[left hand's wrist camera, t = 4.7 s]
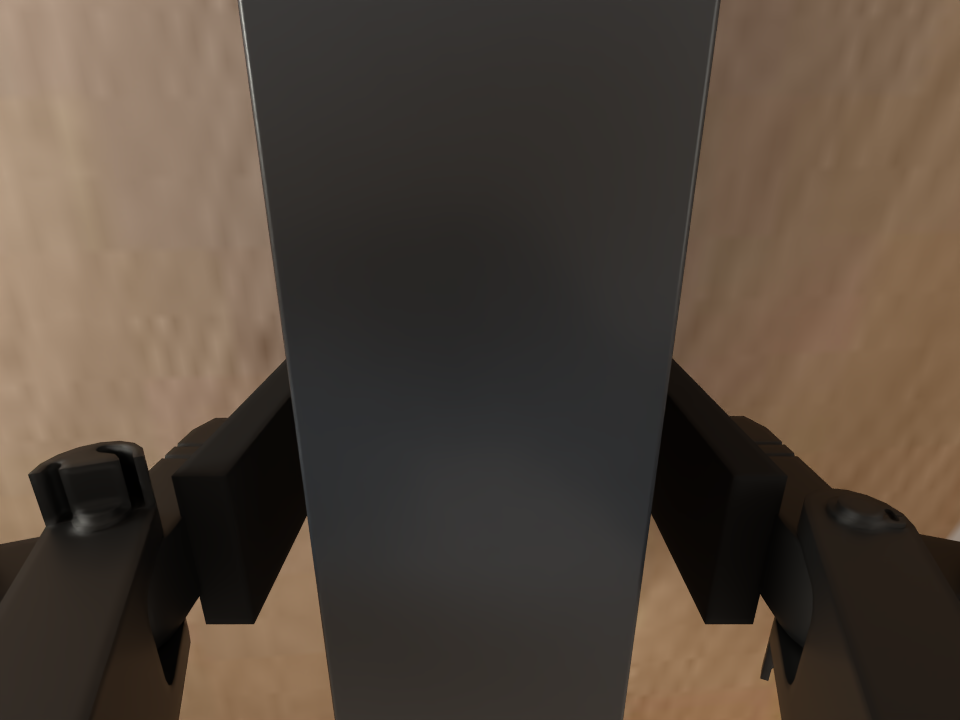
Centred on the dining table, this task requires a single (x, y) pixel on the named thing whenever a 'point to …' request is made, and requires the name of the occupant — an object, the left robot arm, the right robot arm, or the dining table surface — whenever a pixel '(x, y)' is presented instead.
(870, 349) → the dining table surface
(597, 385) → the slate bar
